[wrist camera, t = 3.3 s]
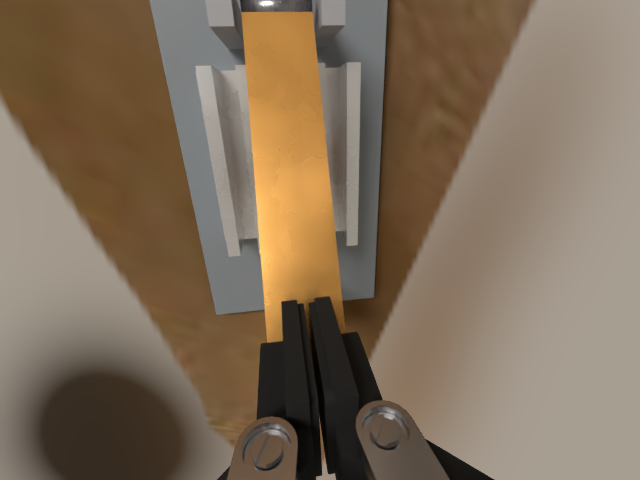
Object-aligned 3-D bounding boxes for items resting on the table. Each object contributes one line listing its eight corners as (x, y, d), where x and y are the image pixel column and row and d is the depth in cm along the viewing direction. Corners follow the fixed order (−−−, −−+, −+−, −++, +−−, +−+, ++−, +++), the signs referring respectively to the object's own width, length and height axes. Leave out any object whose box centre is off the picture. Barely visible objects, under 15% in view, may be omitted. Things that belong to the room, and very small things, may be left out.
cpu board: (138, -80, 16) (46, -204, 9) (385, -73, 17) (450, -177, 11) (218, 307, 26) (200, 374, 19) (370, 290, 27) (400, 348, 21)
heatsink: (201, 73, 18) (182, 65, 14) (352, 69, 19) (371, 61, 15) (228, 232, 22) (219, 257, 18) (351, 222, 23) (366, 244, 19)
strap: (243, 9, 14) (238, -16, 13) (308, 9, 14) (310, -15, 13) (271, 363, 12) (269, 372, 11) (344, 353, 13) (349, 362, 12)
